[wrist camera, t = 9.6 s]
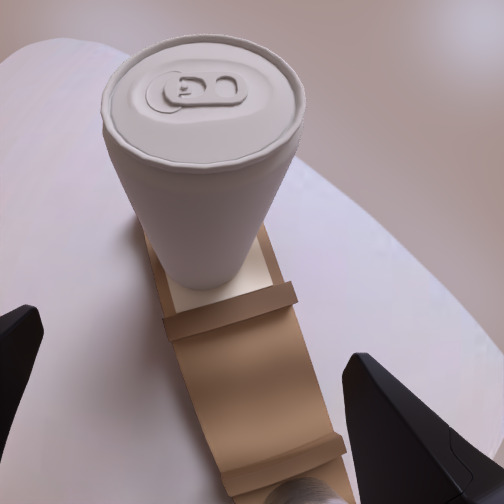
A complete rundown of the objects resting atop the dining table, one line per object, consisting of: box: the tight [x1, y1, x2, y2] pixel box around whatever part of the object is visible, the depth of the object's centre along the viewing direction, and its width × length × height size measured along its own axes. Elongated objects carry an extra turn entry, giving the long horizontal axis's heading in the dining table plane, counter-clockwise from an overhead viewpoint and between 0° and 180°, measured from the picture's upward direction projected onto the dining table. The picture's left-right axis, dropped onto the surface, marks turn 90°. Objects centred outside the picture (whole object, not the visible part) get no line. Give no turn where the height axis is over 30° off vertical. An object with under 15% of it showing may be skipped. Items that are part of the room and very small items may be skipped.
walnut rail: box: [143, 223, 356, 504], centre depth 15 cm, size 26×7×3 cm, turn 18°
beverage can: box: [101, 34, 306, 291], centre depth 11 cm, size 5×5×12 cm
